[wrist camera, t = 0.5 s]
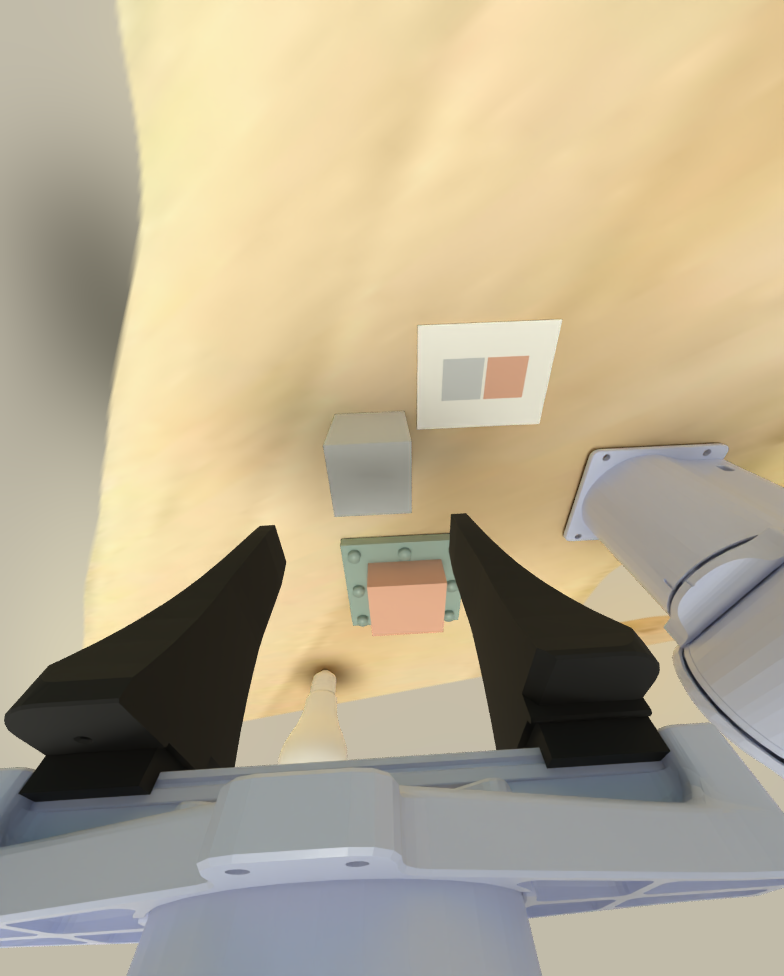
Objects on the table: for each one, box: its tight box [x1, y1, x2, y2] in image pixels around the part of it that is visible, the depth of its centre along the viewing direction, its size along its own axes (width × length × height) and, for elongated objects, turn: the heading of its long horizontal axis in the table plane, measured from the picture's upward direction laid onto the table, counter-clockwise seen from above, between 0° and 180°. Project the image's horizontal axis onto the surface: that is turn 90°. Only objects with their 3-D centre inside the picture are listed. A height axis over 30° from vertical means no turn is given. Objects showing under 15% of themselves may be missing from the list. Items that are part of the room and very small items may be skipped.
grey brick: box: [323, 411, 412, 517], centre depth 19 cm, size 4×4×5 cm
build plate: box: [340, 533, 461, 627], centre depth 27 cm, size 10×10×1 cm
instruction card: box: [417, 319, 562, 430], centre depth 19 cm, size 8×6×1 cm
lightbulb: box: [278, 670, 348, 764], centre depth 30 cm, size 6×6×11 cm
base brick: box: [367, 559, 447, 636], centre depth 26 cm, size 6×6×2 cm
